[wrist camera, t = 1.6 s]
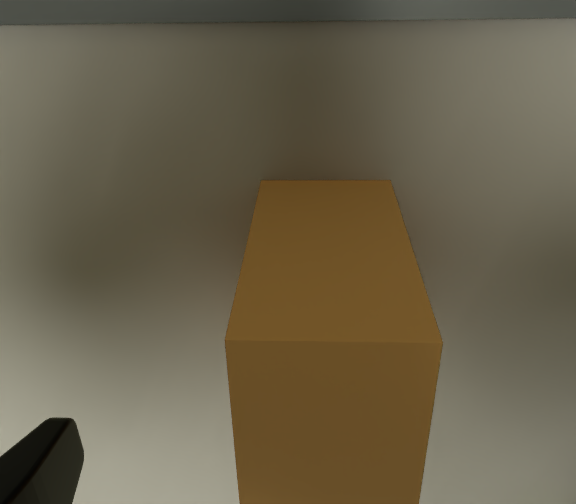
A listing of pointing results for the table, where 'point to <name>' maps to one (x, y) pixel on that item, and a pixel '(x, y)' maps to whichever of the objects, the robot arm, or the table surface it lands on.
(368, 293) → the brown rectangular block
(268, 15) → the desk well
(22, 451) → the robot arm
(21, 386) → the table surface
